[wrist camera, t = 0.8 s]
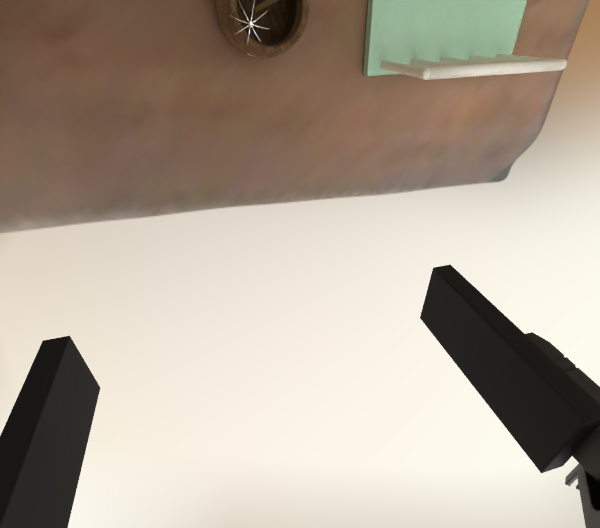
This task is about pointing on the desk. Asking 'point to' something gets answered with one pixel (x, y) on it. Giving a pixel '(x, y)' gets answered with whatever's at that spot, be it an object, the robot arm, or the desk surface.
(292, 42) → the utensil holder
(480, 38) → the drying rack
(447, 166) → the desk surface
